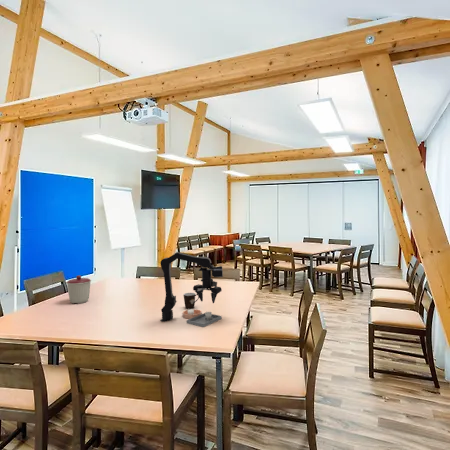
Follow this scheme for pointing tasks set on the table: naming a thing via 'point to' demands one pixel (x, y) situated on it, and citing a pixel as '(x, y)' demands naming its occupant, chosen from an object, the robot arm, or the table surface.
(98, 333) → the table surface
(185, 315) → the terracotta dish
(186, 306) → the coffee mug
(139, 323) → the table surface
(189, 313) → the pebble light
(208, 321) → the parts tray
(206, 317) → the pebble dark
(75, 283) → the canister
